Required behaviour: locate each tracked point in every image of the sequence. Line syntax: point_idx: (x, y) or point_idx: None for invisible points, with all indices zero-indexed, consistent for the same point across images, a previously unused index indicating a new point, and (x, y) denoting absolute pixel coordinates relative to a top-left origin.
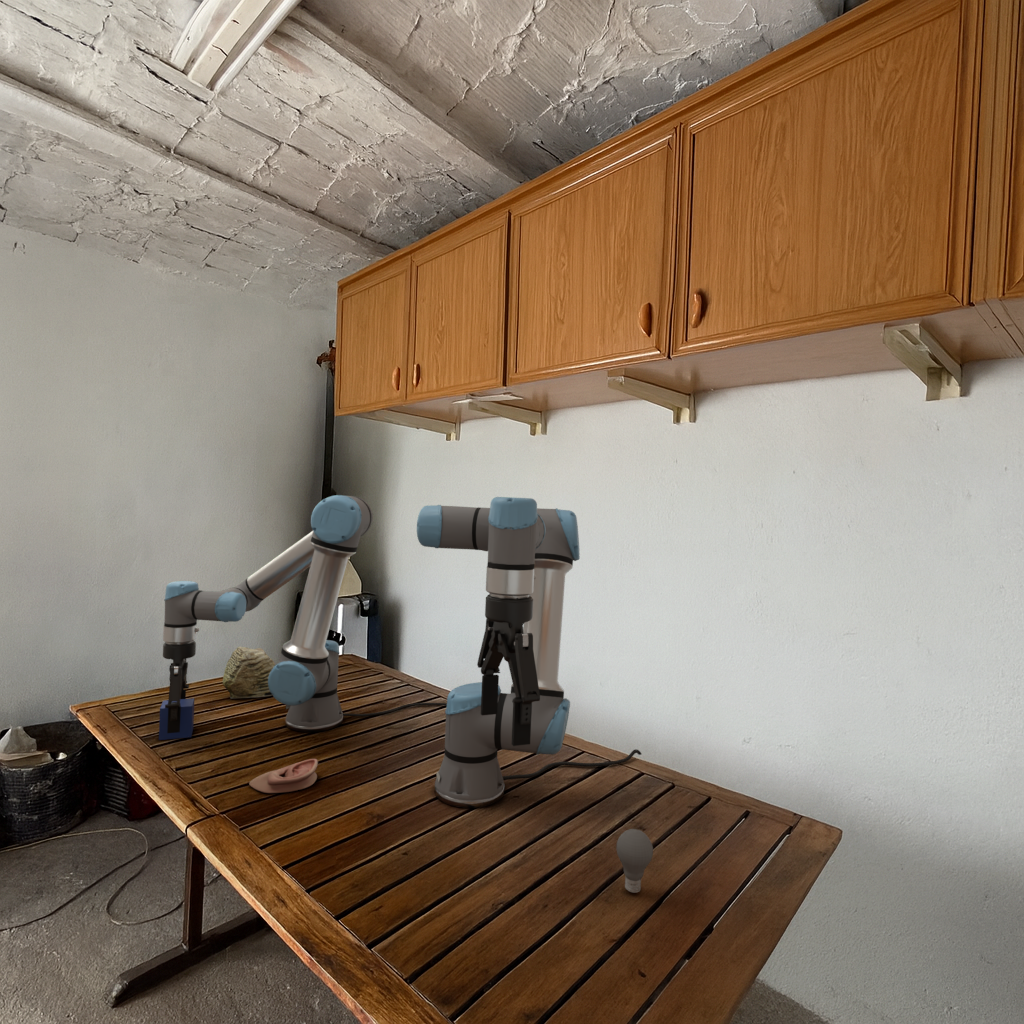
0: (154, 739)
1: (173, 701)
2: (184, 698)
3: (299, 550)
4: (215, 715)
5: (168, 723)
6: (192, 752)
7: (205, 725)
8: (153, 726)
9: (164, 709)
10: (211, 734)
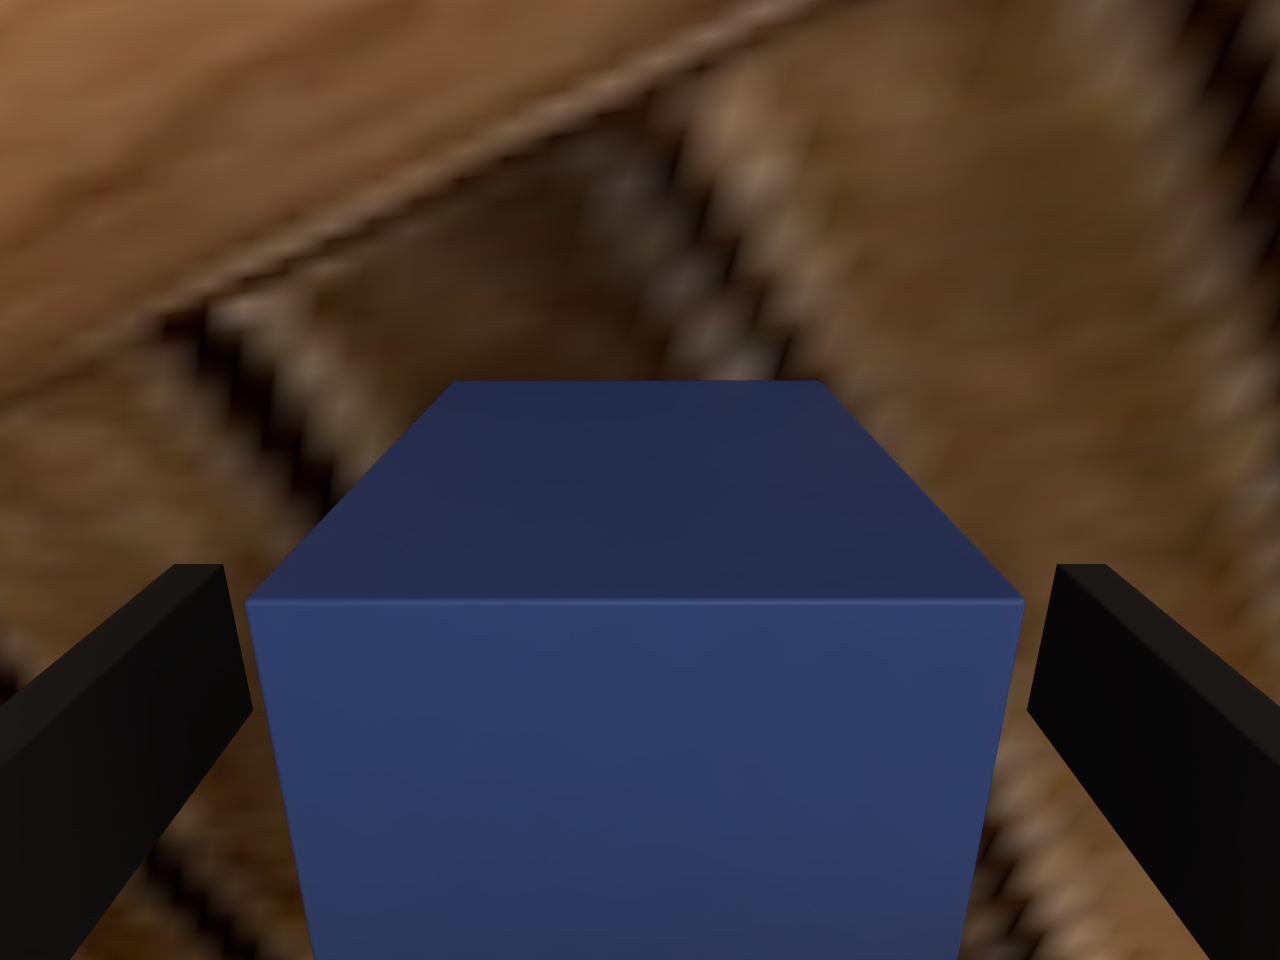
0: (502, 319)
1: (825, 835)
2: (1204, 928)
3: None
4: None
5: (74, 663)
6: None
7: None
8: (1083, 232)
9: (273, 683)
10: None
